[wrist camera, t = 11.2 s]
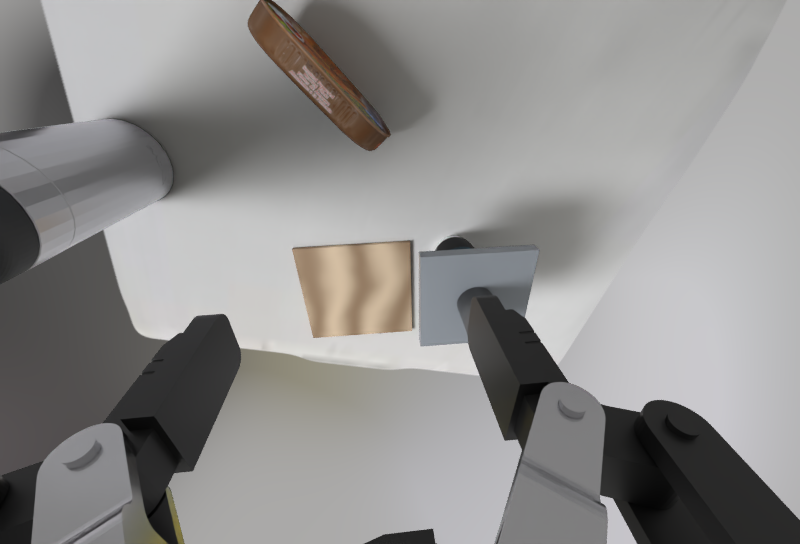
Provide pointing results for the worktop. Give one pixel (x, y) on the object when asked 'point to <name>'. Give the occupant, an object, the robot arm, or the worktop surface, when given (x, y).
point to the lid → (470, 287)
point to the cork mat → (356, 288)
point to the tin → (316, 74)
